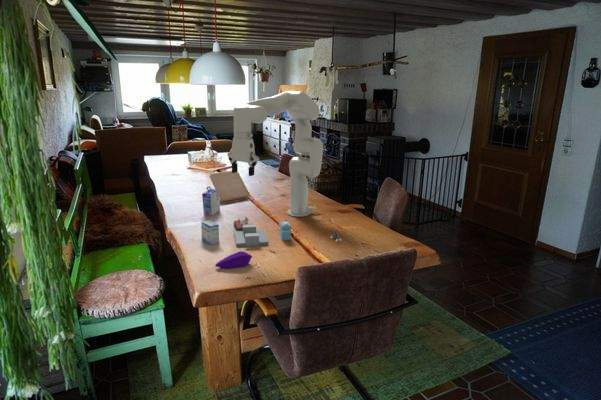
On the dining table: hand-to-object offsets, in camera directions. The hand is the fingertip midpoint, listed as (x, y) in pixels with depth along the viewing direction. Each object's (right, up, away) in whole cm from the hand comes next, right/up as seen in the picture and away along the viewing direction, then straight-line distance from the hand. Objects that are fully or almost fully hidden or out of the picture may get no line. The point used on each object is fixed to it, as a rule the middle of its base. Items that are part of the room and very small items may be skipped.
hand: (242, 173), depth 179 cm
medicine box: (-15, -30, +2) cm, 34 cm away
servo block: (+18, -29, +8) cm, 36 cm away
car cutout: (+44, -32, +5) cm, 55 cm away
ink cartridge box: (-23, -19, +41) cm, 50 cm away
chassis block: (+3, -30, +5) cm, 30 cm away
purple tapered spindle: (0, -38, -21) cm, 43 cm away
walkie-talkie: (-3, -25, +21) cm, 33 cm away
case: (-19, -11, +69) cm, 72 cm away
